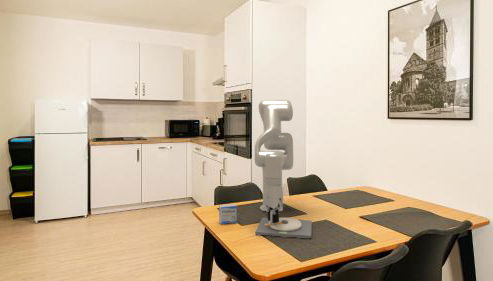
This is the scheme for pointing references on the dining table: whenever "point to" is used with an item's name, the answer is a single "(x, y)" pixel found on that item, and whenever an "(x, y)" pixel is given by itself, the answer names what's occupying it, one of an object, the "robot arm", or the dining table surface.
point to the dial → (284, 224)
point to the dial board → (300, 233)
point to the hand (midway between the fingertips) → (273, 221)
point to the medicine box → (227, 213)
